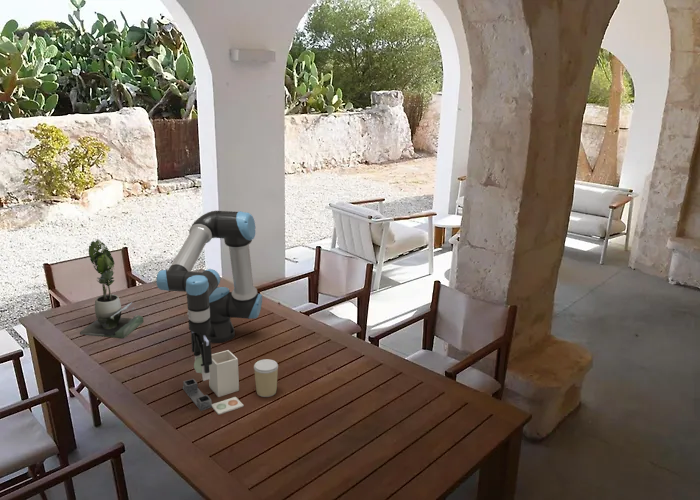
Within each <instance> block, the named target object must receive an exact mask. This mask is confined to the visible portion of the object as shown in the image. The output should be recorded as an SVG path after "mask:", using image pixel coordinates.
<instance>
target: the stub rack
mask: <svg viewBox="0 0 700 500" xmlns="http://www.w3.org/2000/svg"><path fill="white" fill-rule="evenodd" d="M182 385H183V386H182V390H183V391H184V392H185V394H186V395H187V396H188V397H189V398H190V400H191V402H192V403H194V405H195V406H196V407H197V408H198V410H199V411H200V412H202V411H205V410H208V409H211V408H212V404H213V402H212V400H213V399H211V397H210V396H209V395H208V394H204V393H203V391H201V390H200V388H198V385H199V384H198V382H197V381H196V380H195V378H191V379H188V380H183V381H182Z"/></svg>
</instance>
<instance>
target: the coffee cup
mask: <svg viewBox="0 0 700 500" xmlns="http://www.w3.org/2000/svg"><path fill="white" fill-rule="evenodd" d="M253 370H254V381H255V389H256V390H255V391H256V393H257V394H256V395H257V396H259V397H262V398H269V397H273V396H274V395H276V393H277V387H278V372H279V371H278V370H279V364H278V362H277V361H275V360H274V359H266V358H264V359H260V360H258V361H257V362H255V363H254V364H253Z"/></svg>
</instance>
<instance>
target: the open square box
mask: <svg viewBox="0 0 700 500" xmlns="http://www.w3.org/2000/svg"><path fill="white" fill-rule="evenodd" d="M211 355H212V364H211V367H210V379H208V384H209V386H208V387H209V389H210V390H211V391H212V392H213V393H214V394H215V395H216V397H217V398H221V397H224V396H226V395H229V394H232V393H235V392H238V391H240V382H239V360H238V358H237V356H235V354H233V353H232V352H231V351H230V350H229V349H227V350H223V351H220V352H216V353H211Z"/></svg>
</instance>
